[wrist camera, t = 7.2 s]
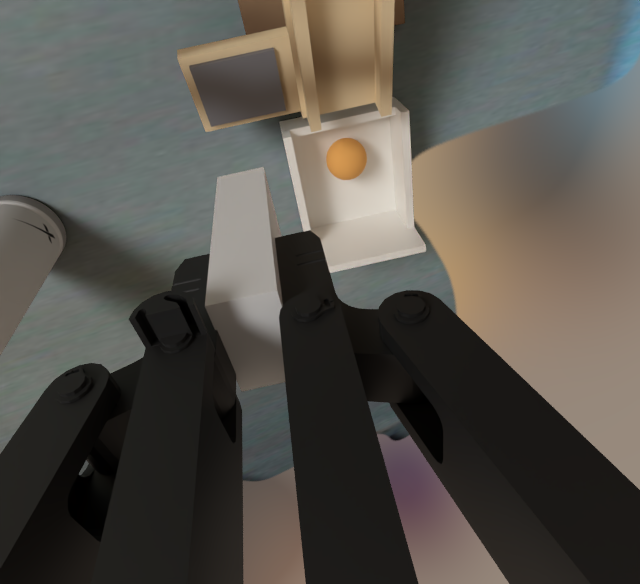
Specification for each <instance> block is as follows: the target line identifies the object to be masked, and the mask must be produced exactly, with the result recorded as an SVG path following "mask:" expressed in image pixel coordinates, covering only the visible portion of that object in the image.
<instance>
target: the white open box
mask: <svg viewBox="0 0 640 584" xmlns="http://www.w3.org/2000/svg"><path fill="white" fill-rule="evenodd" d="M320 121H321V128H322V130H319V131H315V132H311V129H310V126H309V122H308V119H307V118H302V117H299V118H294V119H289V120H285V121H280V122H279V123H280V128H281V133H282V137H283V142H284V146H285V151H286V155H287V160H288V164H289V169H290V173H291V178H292V182H293V187H294V191H295V196H296V200H297V205H298V209H299V214H300V218H301V223H302V227H303V232H304V231H308V230H311V231H312V232H313V233H314V234H316V235H317V236H318V237H319V238H320V239H321V243H322V247H323V251H324V254H325V257H326V261H327V265H328V268H329V272H330V273H332V272H336V271H341V270H345V269H350V268H354V267H359V266H363V265H368V264H372V263H377V262H381V261H386V260H390V259H395V258H399V257H404V256H408V255H413V254H417V253H422V252H426V245H425V243H424V241H423V240H422V238H421V237H420V235H419V234H418V232H417V230H416V229H415V227H414V210H413V187H412V163H411V140H410V117H409V110H408V109H407V108H406V107H405V106H404V105H402V104H401V103H400V102H399V101H398V100H397V99H396V98H395V97H392V115H388V116H383V117H381V115H380V113H379V111H378V108H377V106H376V104H375V103H371V104H366V105H362V106H357V107H353V108H348V109H344V110H339V111H334V112H330V113H325V114H321V115H320ZM342 138H352V139H355V140H357V141H358V142H359V143H361V144H362V146H363V147H364V149H365V151H366V155H367V163H366V166H365V169H364V170H363V172H362V173H361V174H360V175H359V176H358V177H356V178H354V179H351V180H341V179H339V178H337V177H335V176H334V175H333V174H332V173H331V172H330V171H329V169H328V167H327V162H326V156H327V152H328V150H329V148H330V146H331V145H332V144H333V143H334V142H335V141H337V140H339V139H342Z"/></svg>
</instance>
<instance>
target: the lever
mask: <svg viewBox="0 0 640 584" xmlns="http://www.w3.org/2000/svg"><path fill="white" fill-rule="evenodd" d="M394 4H395V0H282V6H283V12H284V17H285V23H286V26H285V27H281V28H276V29H271V30H267V31H262V32H258V33H253V34H248V35H244V36H239V37H235V38H230V39H225V40H221V41H216V42H212V43H207V44H202V45H198V46H193V47H189V48H184V49H179V50H177V56H178V61H179V64H180V67H181V69H182V72H183V74H184V77H185V79H186V82H187V85H188V87H189V90H190V92H191V95H192V97H193V100H194V103H195V105H196V108H197V110H198V113H199V115H200V118H201V121H202V123H203V126H204V128H205V131H206V132H208V131H213V130H218V129H222V128H227V127H231V126H236V125H240V124H245V123H249V122H254V121H259V120H263V119H268V118H272V117H277V116H281V115H286V114H290V113H295V112H300V111H301V114H302V118H307V119H308V122H309V126H310V129H311V132H315V131H319V130H322V128H321V121H320V115H321V114H325V113H330V112H334V111H339V110H344V109H348V108H353V107H357V106H362V105H366V104H371V103H375V104H376V106H377V108H378V111H379V113H380V115H381V117H383V116H388V115H392V81H393V43H394Z"/></svg>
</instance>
